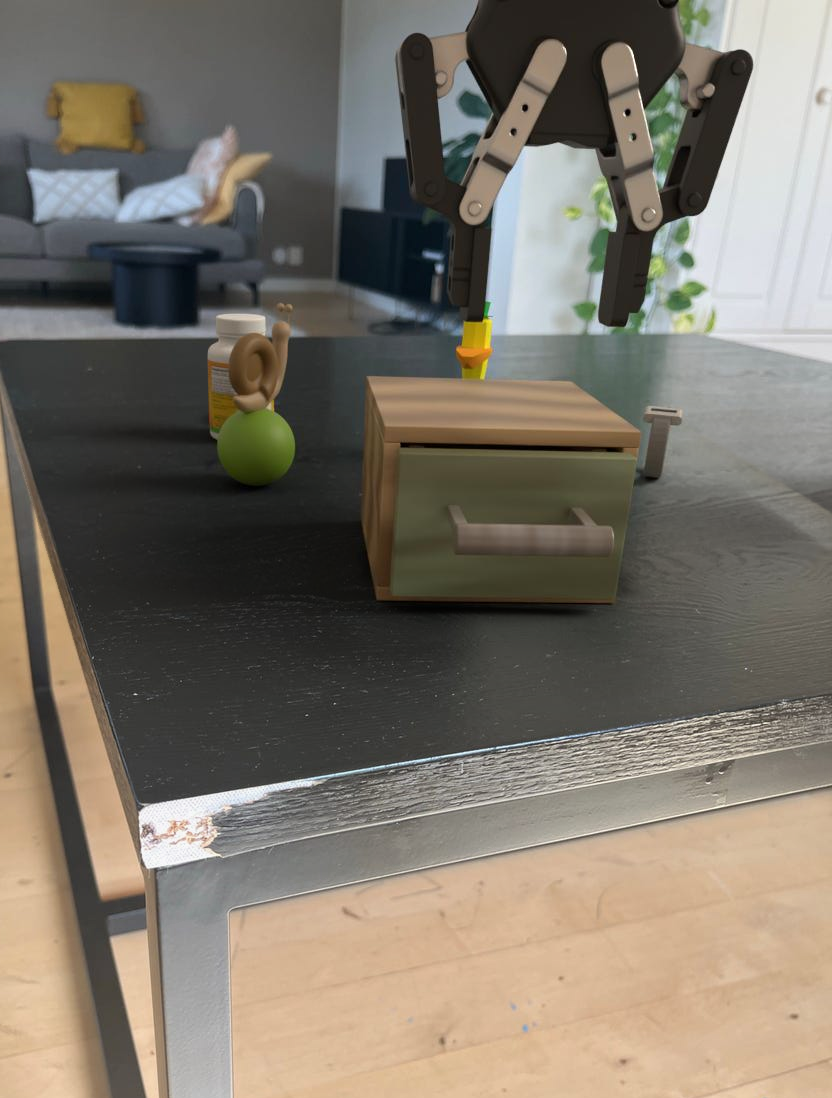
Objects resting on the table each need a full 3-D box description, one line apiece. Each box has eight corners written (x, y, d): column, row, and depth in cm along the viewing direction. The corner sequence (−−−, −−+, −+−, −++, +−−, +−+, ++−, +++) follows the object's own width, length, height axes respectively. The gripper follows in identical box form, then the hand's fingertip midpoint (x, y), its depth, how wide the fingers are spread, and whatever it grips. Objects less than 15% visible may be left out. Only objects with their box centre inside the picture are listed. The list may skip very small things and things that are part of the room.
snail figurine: (316, 479, 72) (320, 306, 67) (265, 500, 67) (265, 314, 62) (255, 467, 74) (254, 299, 69) (202, 486, 69) (197, 307, 64)
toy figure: (481, 471, 75) (495, 307, 70) (435, 467, 76) (446, 304, 71) (492, 451, 81) (506, 298, 76) (449, 447, 82) (461, 295, 77)
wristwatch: (670, 488, 73) (682, 421, 71) (632, 484, 74) (642, 417, 72) (672, 468, 78) (683, 405, 76) (636, 464, 79) (646, 401, 77)
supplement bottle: (235, 426, 86) (233, 310, 82) (286, 435, 84) (287, 316, 80) (196, 437, 82) (192, 316, 78) (248, 447, 80) (247, 322, 76)
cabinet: (614, 603, 52) (641, 431, 48) (376, 601, 51) (384, 425, 47) (553, 523, 64) (571, 381, 60) (360, 520, 63) (366, 375, 60)
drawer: (646, 640, 45) (673, 487, 42) (401, 638, 45) (410, 482, 42) (556, 523, 61) (571, 405, 58) (373, 520, 61) (379, 400, 57)
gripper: (408, -219, 32) (383, 329, 39) (842, -191, 32) (739, 340, 40) (388, -147, 38) (370, 308, 45) (747, -126, 39) (674, 317, 46)
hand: (542, 320), depth 42 cm, fingers open, 5 cm apart
